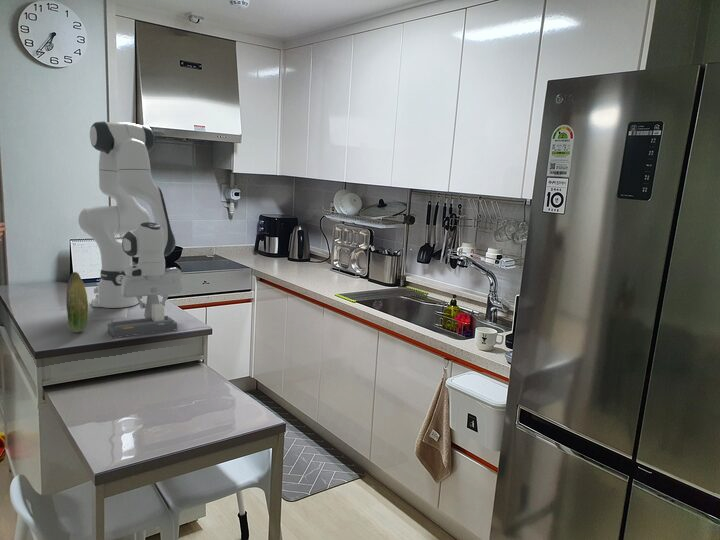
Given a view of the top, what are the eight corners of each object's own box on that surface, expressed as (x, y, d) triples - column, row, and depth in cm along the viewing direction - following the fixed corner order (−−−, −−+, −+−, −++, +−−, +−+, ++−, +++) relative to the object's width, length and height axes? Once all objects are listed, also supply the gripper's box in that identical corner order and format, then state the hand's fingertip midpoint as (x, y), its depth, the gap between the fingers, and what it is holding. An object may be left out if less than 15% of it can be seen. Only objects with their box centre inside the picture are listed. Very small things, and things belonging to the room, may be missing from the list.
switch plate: (108, 330, 178) (107, 321, 178) (169, 323, 190) (168, 314, 190) (114, 337, 171) (113, 327, 171) (177, 329, 183) (176, 320, 183)
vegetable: (92, 330, 178) (89, 271, 175) (84, 335, 172) (82, 274, 169) (72, 330, 177) (70, 270, 174) (64, 335, 171) (61, 274, 168)
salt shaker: (155, 323, 189) (154, 287, 187) (141, 322, 190) (140, 286, 188) (164, 319, 194) (164, 284, 192) (150, 318, 196) (149, 283, 193)
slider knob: (151, 319, 184) (151, 304, 183) (160, 318, 186) (160, 303, 185) (155, 322, 181) (154, 306, 180) (164, 321, 183) (164, 306, 182)
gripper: (178, 265, 198) (179, 302, 200) (119, 269, 186) (120, 308, 188) (184, 268, 193) (184, 306, 195) (123, 272, 181) (124, 312, 183)
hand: (152, 307), depth 191 cm, fingers open, 5 cm apart
